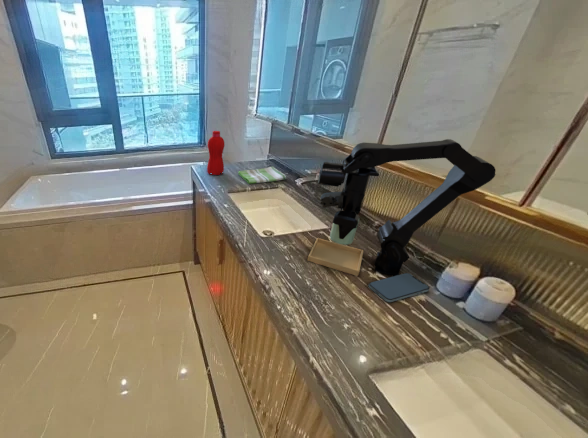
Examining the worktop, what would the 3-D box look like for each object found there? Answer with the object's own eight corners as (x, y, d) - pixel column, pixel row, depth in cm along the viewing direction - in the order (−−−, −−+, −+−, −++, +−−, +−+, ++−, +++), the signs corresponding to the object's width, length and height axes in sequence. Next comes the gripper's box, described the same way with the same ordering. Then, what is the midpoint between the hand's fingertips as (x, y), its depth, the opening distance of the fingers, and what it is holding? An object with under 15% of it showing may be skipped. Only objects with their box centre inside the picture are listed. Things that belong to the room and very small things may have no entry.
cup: (354, 236, 92) (360, 215, 88) (351, 246, 87) (358, 224, 83) (331, 231, 95) (336, 210, 91) (327, 240, 90) (333, 218, 86)
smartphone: (367, 282, 83) (407, 271, 86) (365, 286, 84) (406, 275, 87) (389, 300, 77) (432, 287, 80) (387, 304, 78) (429, 292, 81)
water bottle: (225, 170, 176) (227, 129, 164) (220, 176, 167) (221, 133, 155) (211, 169, 179) (212, 128, 167) (205, 174, 170) (205, 132, 158)
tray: (362, 254, 97) (363, 250, 96) (357, 276, 88) (359, 271, 87) (316, 242, 105) (317, 237, 104) (307, 260, 95) (308, 256, 94)
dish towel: (286, 180, 160) (287, 174, 159) (249, 184, 155) (249, 178, 153) (272, 171, 175) (272, 165, 173) (237, 174, 170) (237, 169, 168)
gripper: (331, 174, 93) (322, 215, 101) (319, 193, 79) (309, 240, 87) (369, 179, 88) (356, 223, 96) (364, 201, 74) (349, 250, 82)
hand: (342, 233), depth 90 cm, fingers closed on cup, 7 cm apart
